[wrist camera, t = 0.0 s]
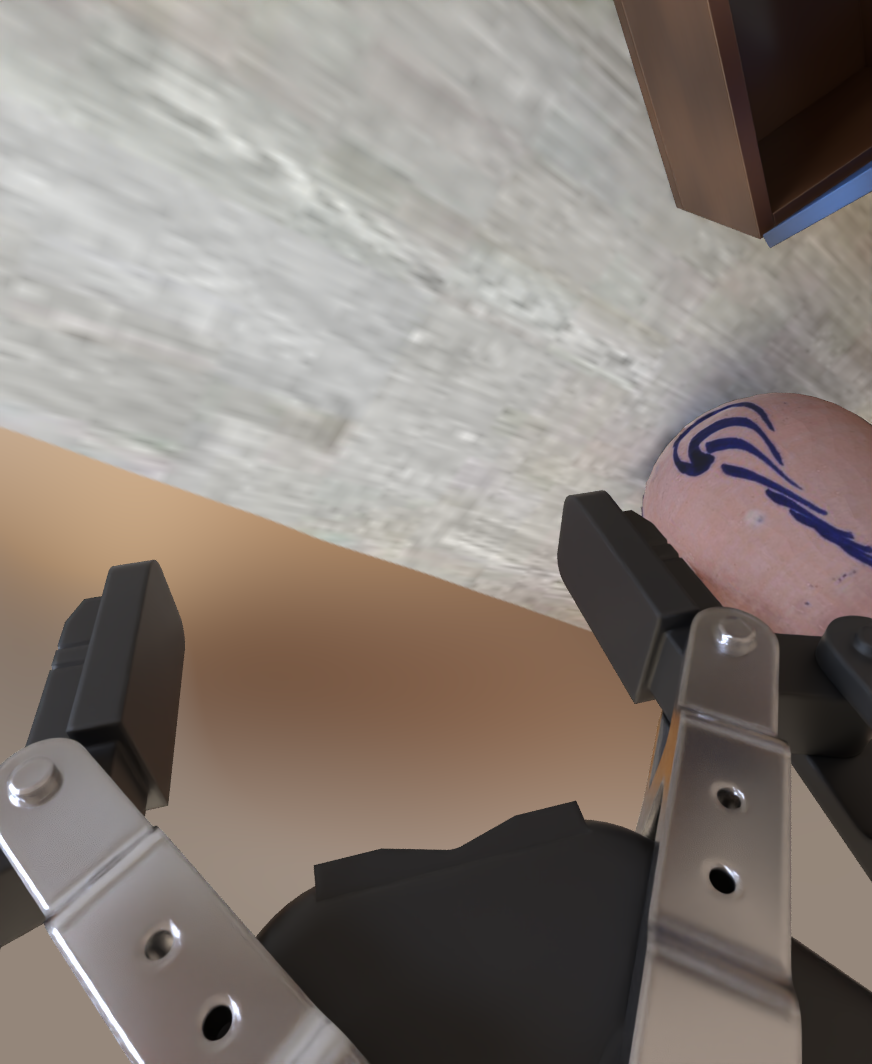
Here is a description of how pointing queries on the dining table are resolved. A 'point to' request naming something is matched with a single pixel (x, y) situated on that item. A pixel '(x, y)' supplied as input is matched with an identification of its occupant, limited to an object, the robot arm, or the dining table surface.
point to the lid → (823, 205)
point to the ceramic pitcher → (772, 508)
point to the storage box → (754, 100)
